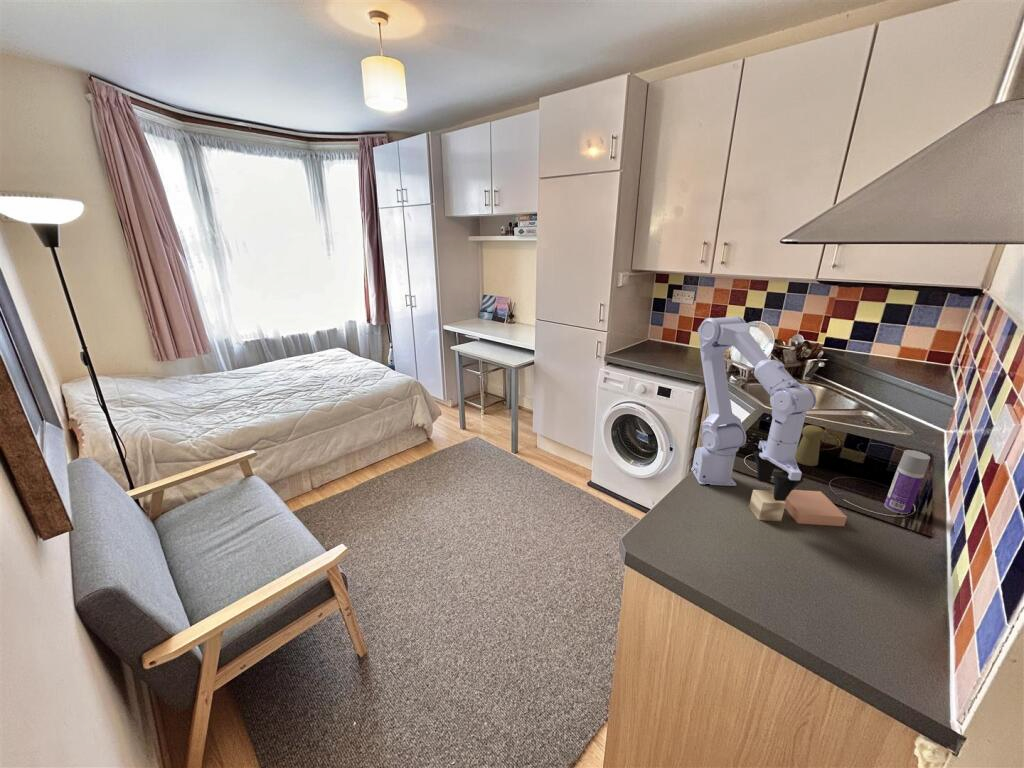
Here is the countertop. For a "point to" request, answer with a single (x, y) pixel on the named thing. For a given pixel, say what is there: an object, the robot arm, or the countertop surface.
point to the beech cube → (766, 505)
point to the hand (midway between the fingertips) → (770, 490)
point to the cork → (809, 445)
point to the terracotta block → (813, 508)
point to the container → (907, 481)
